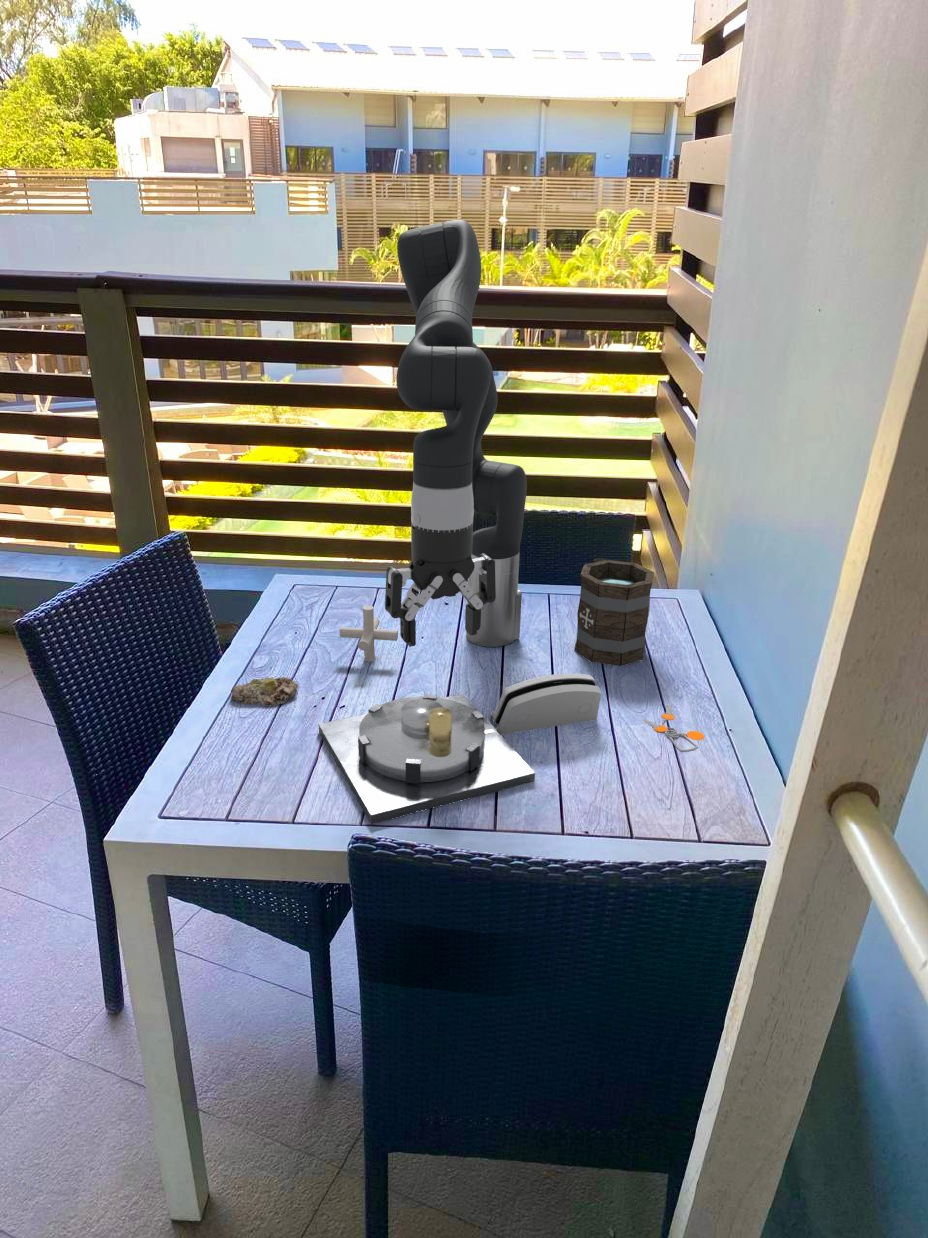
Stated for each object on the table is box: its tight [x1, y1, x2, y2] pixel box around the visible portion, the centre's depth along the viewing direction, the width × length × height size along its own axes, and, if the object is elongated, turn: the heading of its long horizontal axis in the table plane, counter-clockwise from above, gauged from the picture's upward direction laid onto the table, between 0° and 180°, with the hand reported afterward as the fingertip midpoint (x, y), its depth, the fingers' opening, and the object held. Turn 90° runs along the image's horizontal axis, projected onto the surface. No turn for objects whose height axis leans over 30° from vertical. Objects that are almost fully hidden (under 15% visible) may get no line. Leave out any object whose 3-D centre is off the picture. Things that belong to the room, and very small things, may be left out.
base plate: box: [318, 693, 536, 825], centre depth 125 cm, size 24×24×2 cm
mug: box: [573, 557, 655, 667], centre depth 159 cm, size 20×14×15 cm
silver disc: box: [358, 693, 485, 784], centre depth 123 cm, size 18×19×9 cm
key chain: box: [642, 705, 705, 753], centre depth 134 cm, size 13×7×1 cm, turn 19°
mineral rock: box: [230, 676, 299, 707], centre depth 141 cm, size 11×4×8 cm
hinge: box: [489, 672, 602, 736], centre depth 133 cm, size 17×5×10 cm, turn 108°
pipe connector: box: [339, 605, 399, 662], centre depth 151 cm, size 10×10×10 cm
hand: (440, 638), depth 111 cm, fingers open, 8 cm apart
